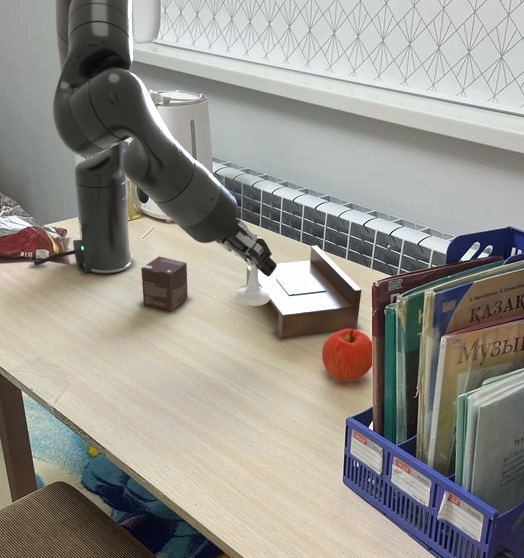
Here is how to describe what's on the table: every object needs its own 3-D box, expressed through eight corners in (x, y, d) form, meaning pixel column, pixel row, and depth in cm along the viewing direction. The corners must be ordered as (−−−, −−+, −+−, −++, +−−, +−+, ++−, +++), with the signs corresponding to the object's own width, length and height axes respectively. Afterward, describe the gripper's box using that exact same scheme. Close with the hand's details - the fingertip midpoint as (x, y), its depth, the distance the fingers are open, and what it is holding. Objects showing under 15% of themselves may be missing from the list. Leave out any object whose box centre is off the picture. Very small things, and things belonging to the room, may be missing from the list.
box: (188, 299, 128) (188, 262, 124) (171, 312, 123) (170, 274, 119) (160, 291, 130) (159, 255, 126) (142, 304, 125) (140, 267, 121)
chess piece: (235, 290, 102) (237, 226, 97) (268, 290, 103) (271, 227, 98) (236, 305, 98) (238, 240, 93) (271, 306, 99) (275, 240, 94)
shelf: (281, 338, 116) (283, 298, 113) (246, 288, 133) (247, 251, 129) (356, 328, 120) (361, 289, 117) (313, 280, 137) (316, 245, 133)
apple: (368, 361, 111) (374, 317, 107) (374, 389, 104) (381, 343, 100) (318, 359, 111) (322, 315, 107) (321, 387, 104) (326, 341, 100)
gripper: (245, 190, 82) (313, 263, 95) (181, 161, 91) (251, 231, 104) (207, 241, 82) (281, 307, 95) (148, 207, 91) (222, 271, 104)
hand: (265, 267), depth 99 cm, fingers closed on chess piece
